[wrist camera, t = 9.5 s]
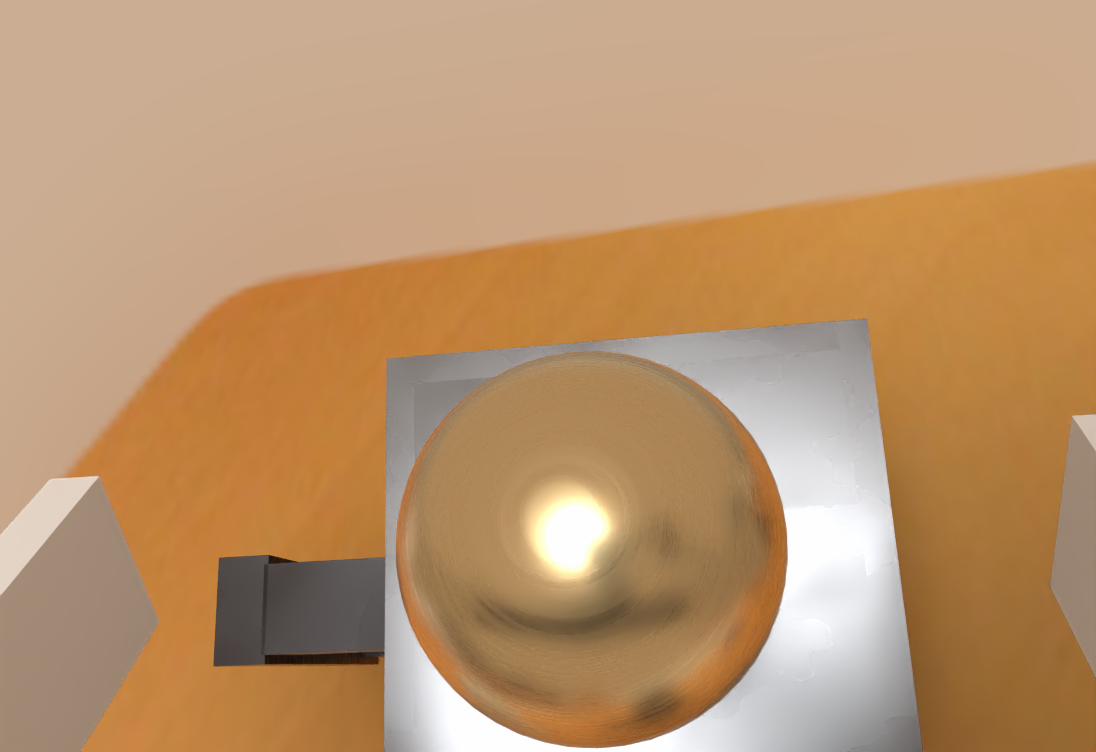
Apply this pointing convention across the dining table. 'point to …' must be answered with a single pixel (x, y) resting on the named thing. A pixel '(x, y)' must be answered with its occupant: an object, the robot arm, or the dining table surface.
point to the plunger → (591, 549)
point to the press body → (811, 581)
